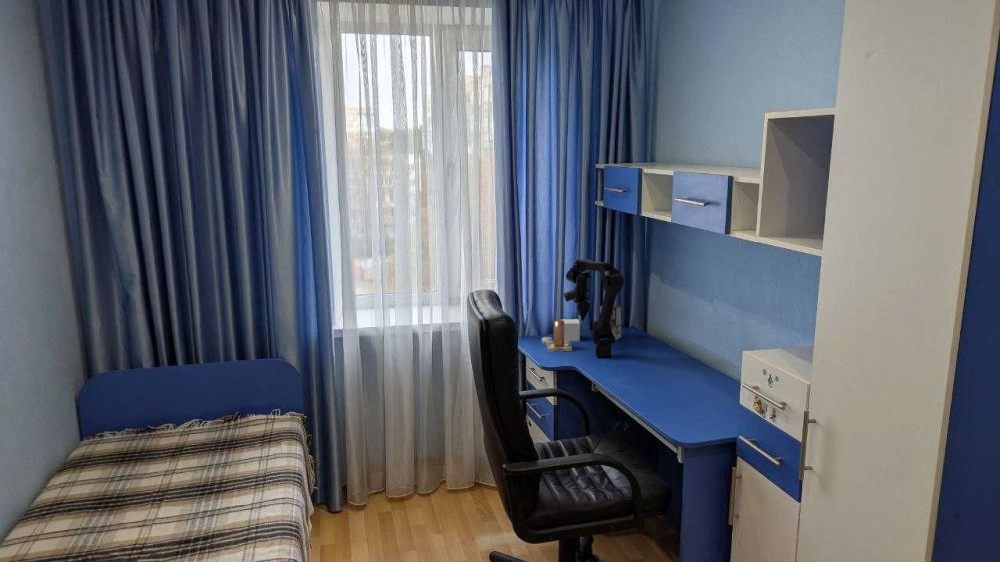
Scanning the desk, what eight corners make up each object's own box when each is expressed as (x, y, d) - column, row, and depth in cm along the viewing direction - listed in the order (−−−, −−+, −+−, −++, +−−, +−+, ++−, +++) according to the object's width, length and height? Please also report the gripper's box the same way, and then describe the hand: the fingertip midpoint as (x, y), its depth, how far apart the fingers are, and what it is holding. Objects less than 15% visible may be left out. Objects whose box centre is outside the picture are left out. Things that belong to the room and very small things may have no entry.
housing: (577, 336, 336) (577, 319, 334) (579, 341, 328) (579, 323, 327) (560, 336, 336) (560, 319, 334) (562, 341, 328) (562, 323, 327)
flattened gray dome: (551, 341, 329) (551, 336, 328) (552, 344, 324) (552, 339, 324) (541, 341, 329) (541, 337, 328) (542, 344, 324) (542, 339, 323)
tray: (569, 344, 323) (569, 341, 323) (571, 351, 312) (572, 347, 312) (546, 344, 323) (546, 341, 323) (548, 351, 312) (548, 348, 312)
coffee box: (621, 337, 334) (622, 305, 331) (616, 340, 329) (616, 308, 326) (604, 334, 339) (605, 303, 336) (599, 337, 334) (599, 306, 331)
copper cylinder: (565, 346, 318) (566, 320, 316) (561, 349, 314) (561, 323, 312) (557, 344, 321) (557, 319, 318) (552, 347, 317) (552, 321, 314)
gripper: (562, 281, 325) (562, 312, 329) (567, 290, 307) (566, 323, 310) (586, 281, 325) (584, 312, 329) (591, 290, 307) (590, 323, 311)
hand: (580, 317), depth 320 cm, fingers open, 9 cm apart
